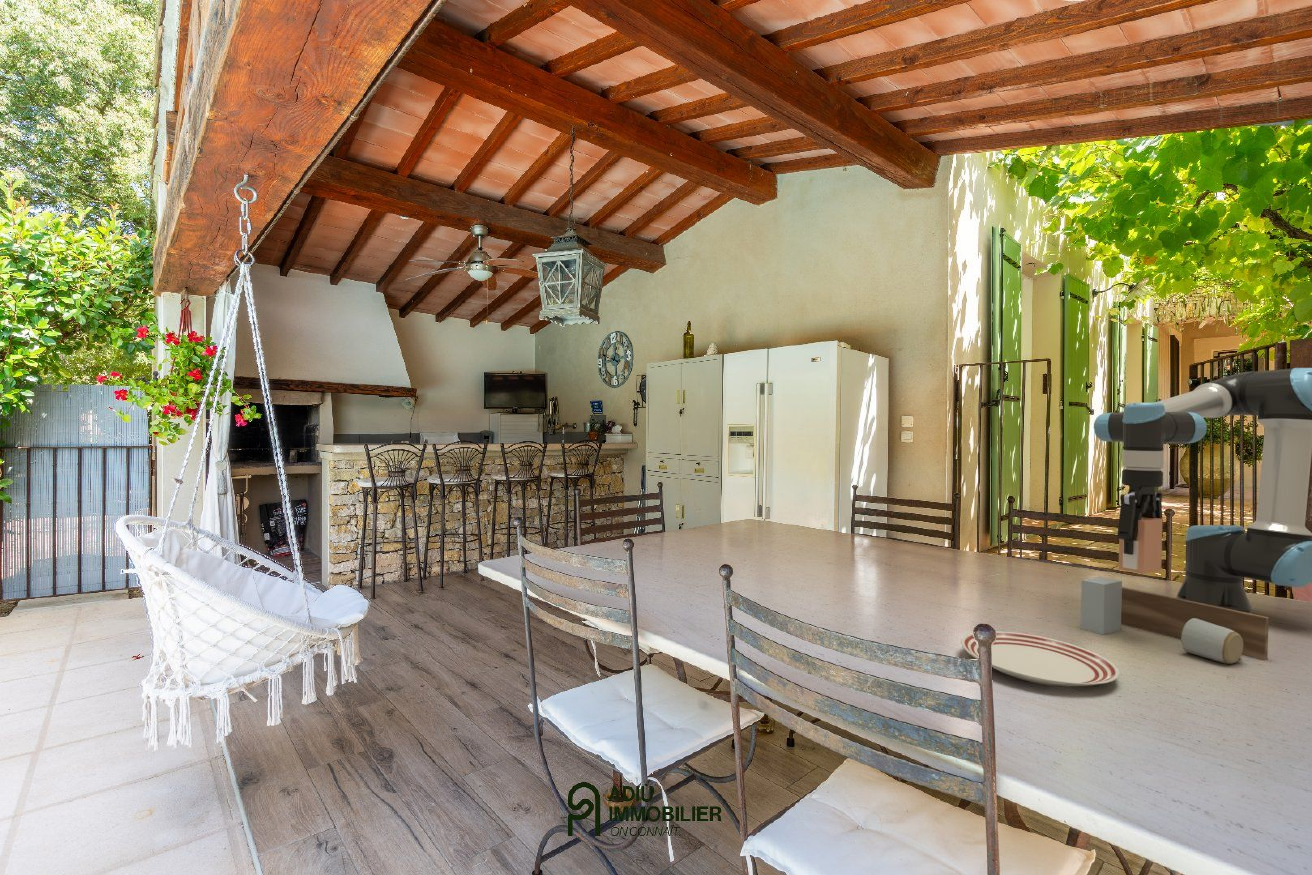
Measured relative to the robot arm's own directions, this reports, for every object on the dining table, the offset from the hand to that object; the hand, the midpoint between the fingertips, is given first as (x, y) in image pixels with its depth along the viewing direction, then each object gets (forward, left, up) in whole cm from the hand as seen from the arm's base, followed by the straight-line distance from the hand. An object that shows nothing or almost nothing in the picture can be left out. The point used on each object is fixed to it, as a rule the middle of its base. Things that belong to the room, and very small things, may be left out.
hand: (1140, 566), depth 143 cm
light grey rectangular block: (0, -8, -17) cm, 19 cm away
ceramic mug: (-2, +13, -17) cm, 22 cm away
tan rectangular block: (0, 0, -1) cm, 1 cm away
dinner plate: (+39, -1, -18) cm, 43 cm away
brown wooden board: (-10, +3, -17) cm, 20 cm away
